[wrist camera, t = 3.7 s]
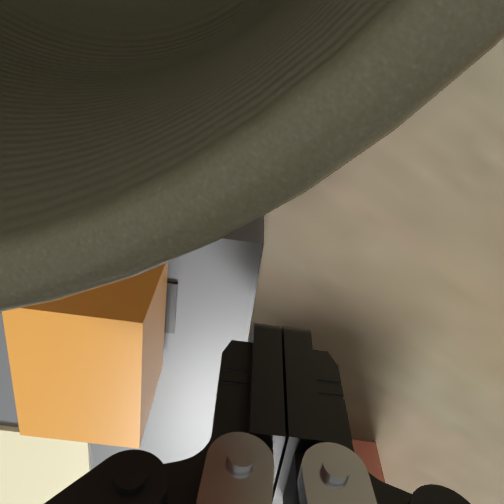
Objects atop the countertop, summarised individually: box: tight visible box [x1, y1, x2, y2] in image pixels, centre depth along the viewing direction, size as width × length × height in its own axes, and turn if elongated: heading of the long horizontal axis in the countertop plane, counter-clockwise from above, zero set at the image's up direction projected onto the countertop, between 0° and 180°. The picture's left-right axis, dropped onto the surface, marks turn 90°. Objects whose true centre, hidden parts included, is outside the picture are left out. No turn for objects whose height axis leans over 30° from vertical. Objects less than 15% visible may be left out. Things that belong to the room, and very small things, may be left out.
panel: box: [0, 215, 264, 504], centre depth 17 cm, size 16×16×2 cm
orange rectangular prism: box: [2, 262, 168, 449], centre depth 12 cm, size 3×4×3 cm
